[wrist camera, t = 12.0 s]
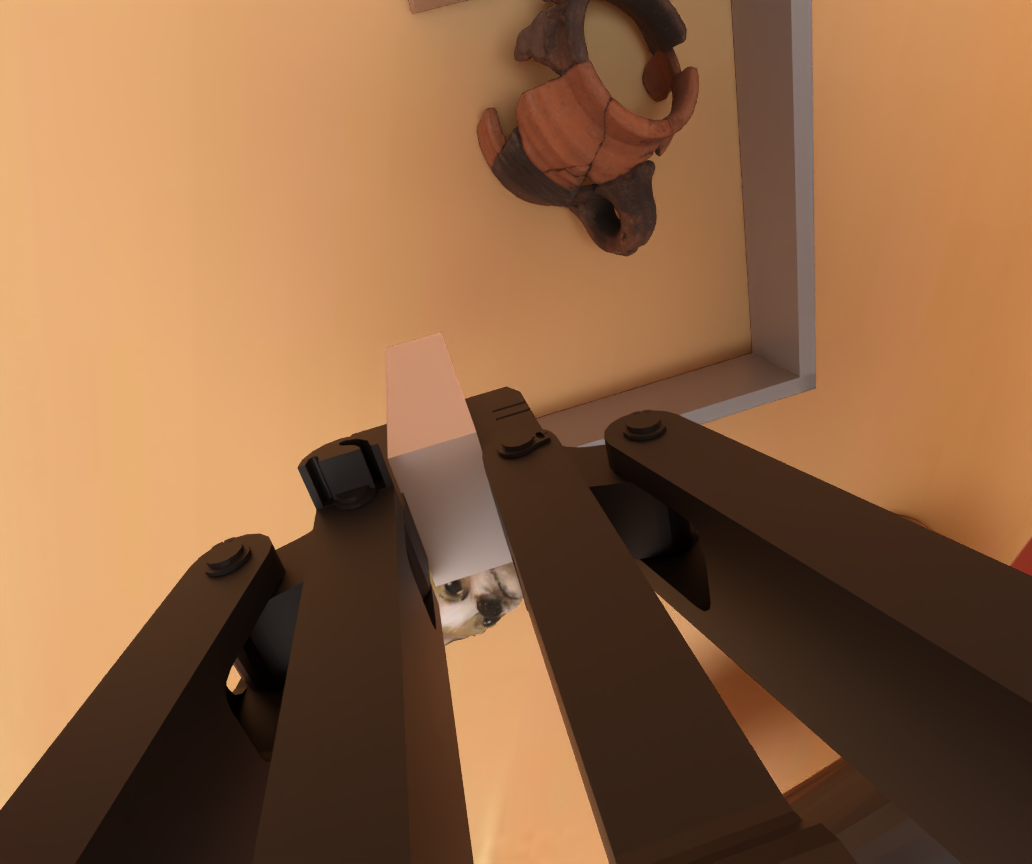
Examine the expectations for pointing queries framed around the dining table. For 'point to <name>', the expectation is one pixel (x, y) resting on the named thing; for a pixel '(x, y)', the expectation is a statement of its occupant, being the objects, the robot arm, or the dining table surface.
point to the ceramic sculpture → (477, 601)
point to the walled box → (747, 235)
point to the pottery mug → (592, 125)
